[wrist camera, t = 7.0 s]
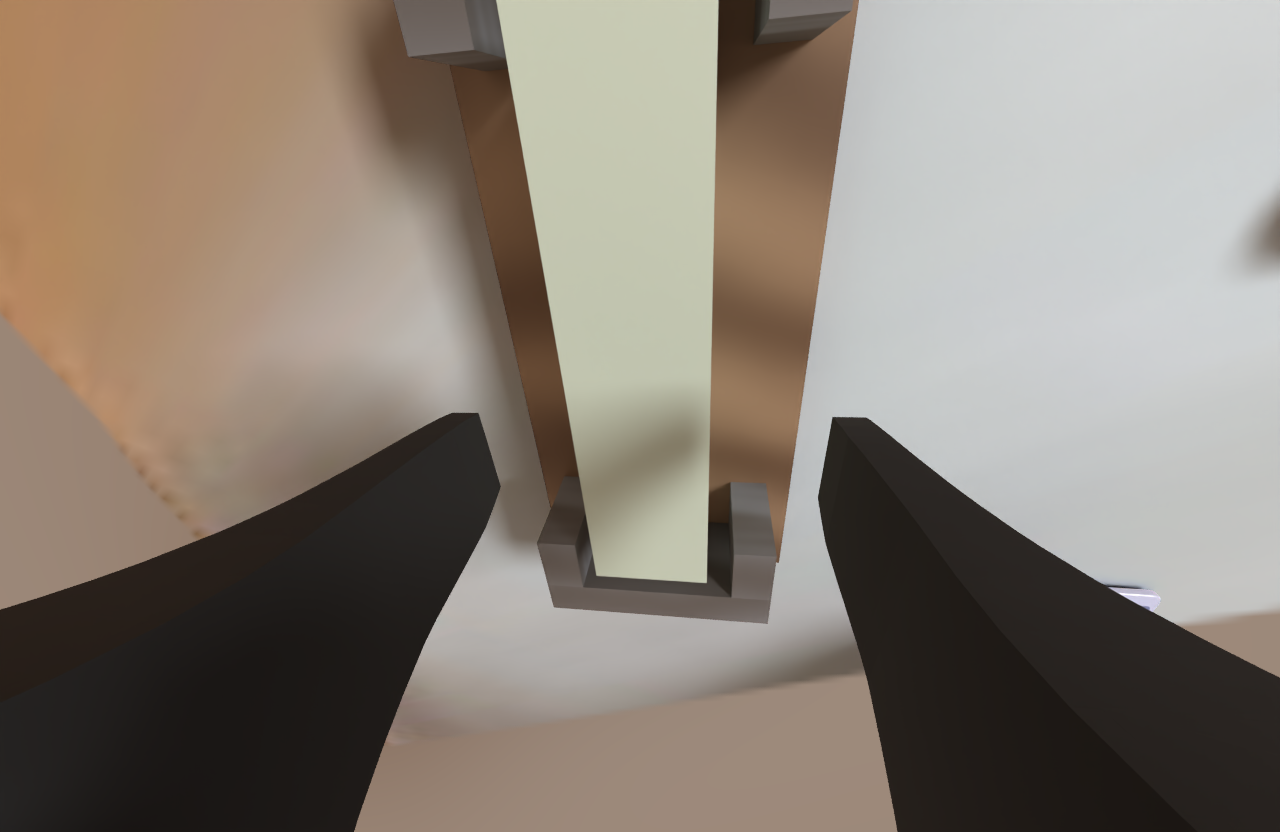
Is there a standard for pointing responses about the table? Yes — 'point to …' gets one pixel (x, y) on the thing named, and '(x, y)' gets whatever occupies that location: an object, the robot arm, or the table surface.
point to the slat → (627, 256)
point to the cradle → (742, 281)
